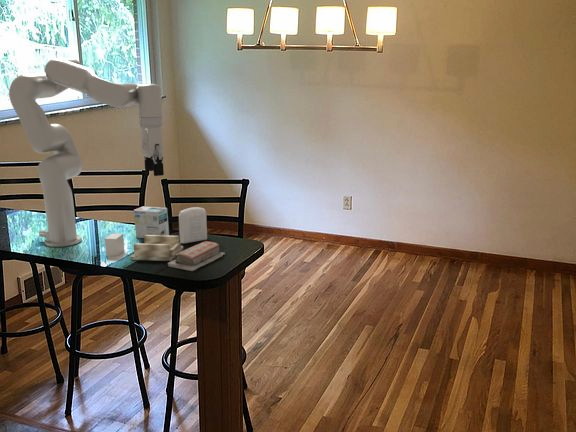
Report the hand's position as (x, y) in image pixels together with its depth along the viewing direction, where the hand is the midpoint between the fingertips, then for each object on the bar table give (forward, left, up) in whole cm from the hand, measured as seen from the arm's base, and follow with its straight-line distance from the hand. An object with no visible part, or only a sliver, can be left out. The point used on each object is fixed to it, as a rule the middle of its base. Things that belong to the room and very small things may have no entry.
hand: (154, 173), depth 202 cm
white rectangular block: (-13, -6, -27) cm, 31 cm away
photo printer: (+10, +10, -27) cm, 30 cm away
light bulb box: (-7, +14, -27) cm, 31 cm away
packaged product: (+17, -12, -27) cm, 34 cm away
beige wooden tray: (+2, -6, -27) cm, 27 cm away
